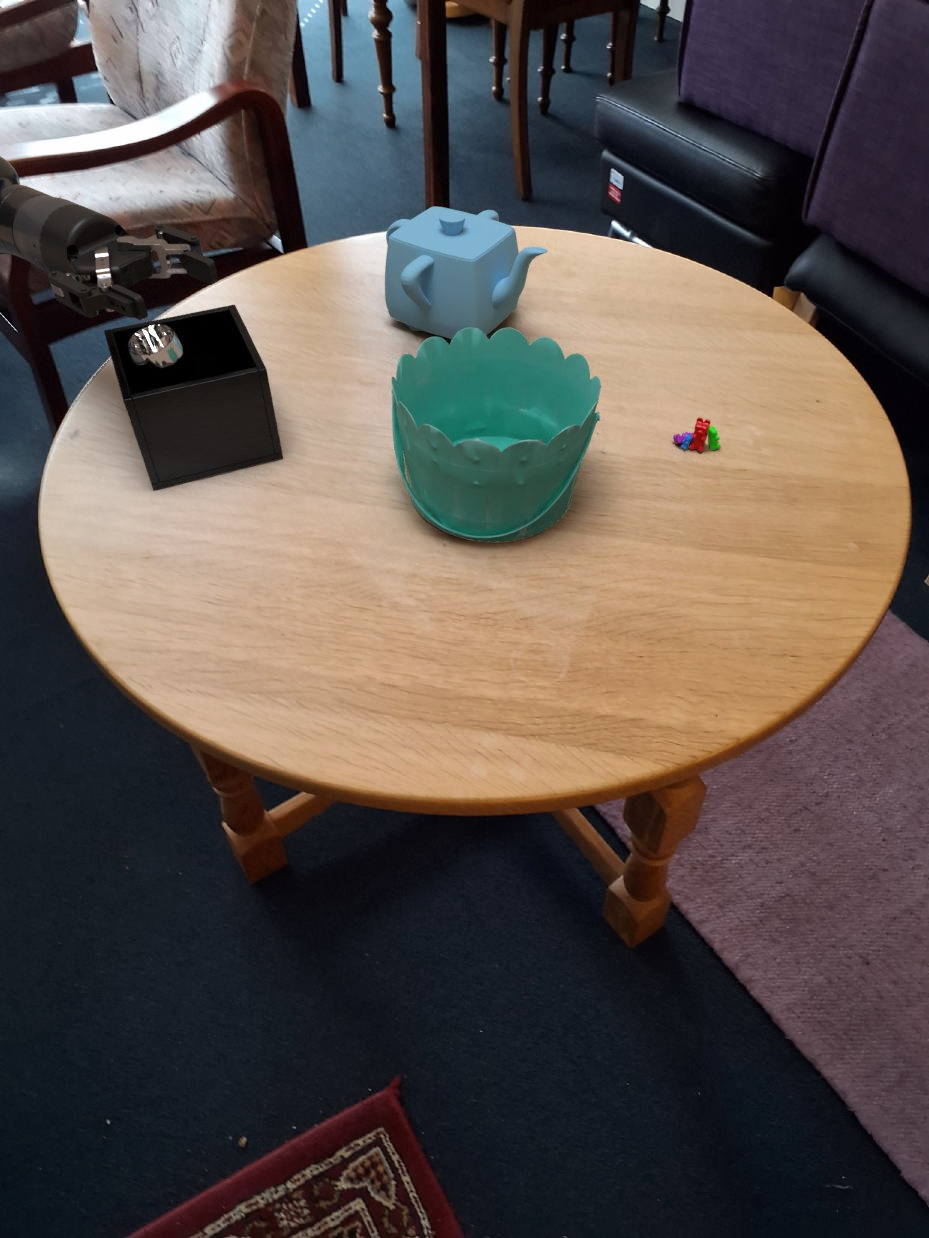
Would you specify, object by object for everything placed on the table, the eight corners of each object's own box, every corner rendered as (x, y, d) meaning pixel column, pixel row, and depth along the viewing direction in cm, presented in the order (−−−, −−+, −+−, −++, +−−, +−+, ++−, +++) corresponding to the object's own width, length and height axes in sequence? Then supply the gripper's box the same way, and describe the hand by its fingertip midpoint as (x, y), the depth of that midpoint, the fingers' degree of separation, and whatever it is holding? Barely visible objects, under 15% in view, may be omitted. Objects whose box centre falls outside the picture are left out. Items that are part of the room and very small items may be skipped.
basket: (612, 467, 93) (629, 357, 84) (538, 576, 83) (547, 465, 73) (452, 416, 99) (450, 309, 90) (363, 512, 89) (351, 401, 79)
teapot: (392, 360, 107) (384, 251, 97) (383, 293, 118) (375, 188, 108) (541, 350, 109) (549, 241, 99) (519, 284, 120) (523, 180, 110)
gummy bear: (669, 447, 96) (674, 419, 93) (676, 433, 97) (682, 406, 95) (715, 459, 94) (722, 432, 92) (721, 445, 96) (728, 418, 93)
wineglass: (162, 445, 95) (110, 355, 86) (190, 408, 98) (142, 317, 88) (207, 454, 94) (158, 363, 84) (234, 416, 96) (190, 324, 87)
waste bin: (153, 490, 91) (123, 400, 83) (132, 418, 100) (103, 330, 92) (283, 458, 95) (266, 369, 87) (252, 391, 103) (234, 304, 95)
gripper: (-6, 231, 83) (104, 282, 77) (119, 181, 91) (228, 223, 84) (24, 306, 89) (129, 359, 82) (139, 254, 96) (243, 298, 90)
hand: (179, 290), depth 83 cm, fingers open, 8 cm apart
